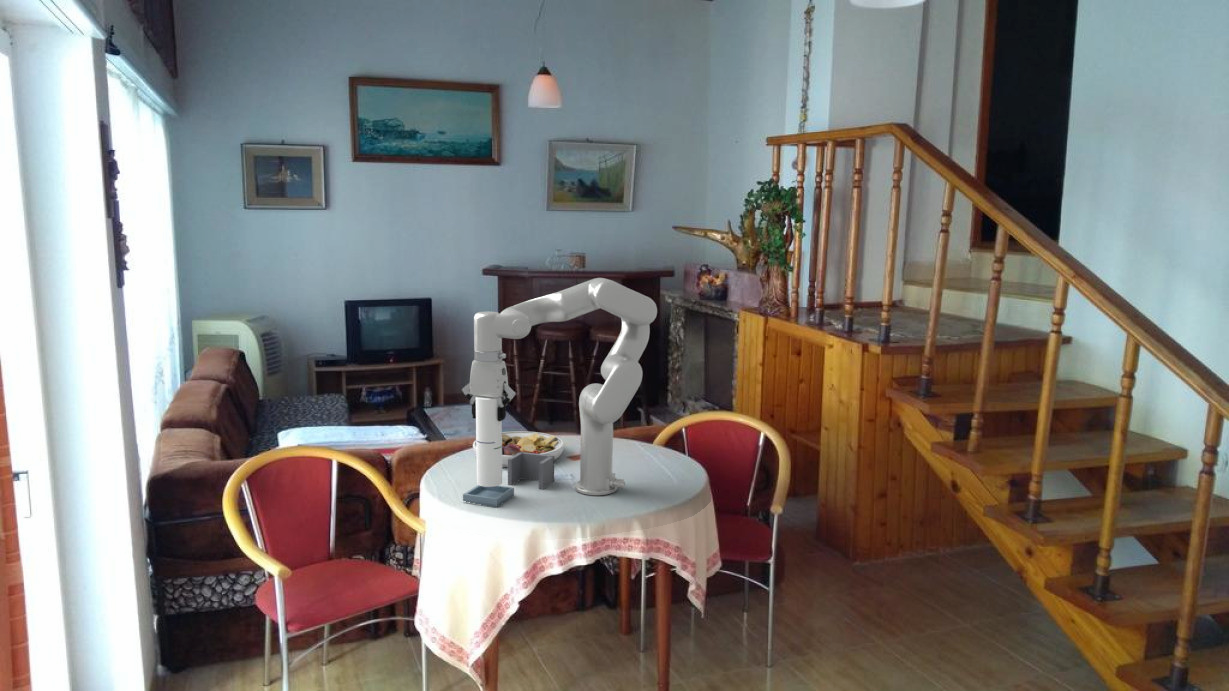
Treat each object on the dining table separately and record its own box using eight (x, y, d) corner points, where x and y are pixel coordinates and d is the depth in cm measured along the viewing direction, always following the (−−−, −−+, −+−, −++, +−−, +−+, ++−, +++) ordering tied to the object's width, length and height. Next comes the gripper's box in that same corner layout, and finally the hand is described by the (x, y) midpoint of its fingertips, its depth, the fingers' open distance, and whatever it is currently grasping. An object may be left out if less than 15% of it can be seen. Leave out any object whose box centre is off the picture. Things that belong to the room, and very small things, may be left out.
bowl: (482, 443, 295) (482, 422, 294) (567, 446, 294) (567, 424, 293) (464, 469, 265) (464, 445, 264) (559, 472, 264) (559, 448, 263)
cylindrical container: (474, 480, 239) (473, 394, 235) (499, 477, 242) (498, 393, 238) (479, 487, 233) (478, 400, 229) (504, 485, 235) (504, 398, 231)
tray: (514, 495, 241) (514, 487, 241) (496, 507, 231) (496, 499, 231) (481, 490, 245) (481, 483, 244) (463, 502, 235) (462, 494, 234)
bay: (554, 481, 255) (554, 455, 253) (542, 489, 247) (542, 463, 246) (520, 476, 258) (520, 451, 257) (507, 484, 251) (507, 459, 249)
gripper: (522, 356, 232) (522, 418, 235) (467, 352, 238) (468, 412, 241) (510, 360, 225) (510, 425, 228) (453, 356, 231) (454, 418, 234)
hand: (488, 418), depth 234 cm, fingers closed on cylindrical container, 7 cm apart
